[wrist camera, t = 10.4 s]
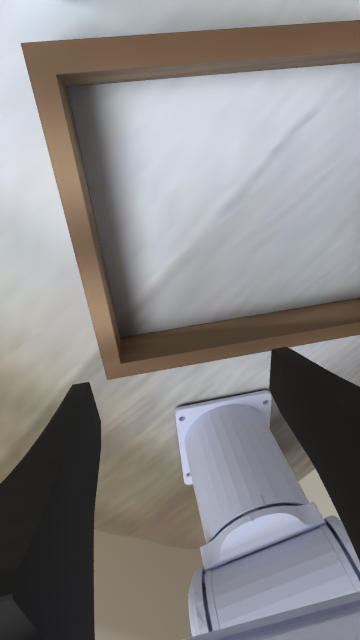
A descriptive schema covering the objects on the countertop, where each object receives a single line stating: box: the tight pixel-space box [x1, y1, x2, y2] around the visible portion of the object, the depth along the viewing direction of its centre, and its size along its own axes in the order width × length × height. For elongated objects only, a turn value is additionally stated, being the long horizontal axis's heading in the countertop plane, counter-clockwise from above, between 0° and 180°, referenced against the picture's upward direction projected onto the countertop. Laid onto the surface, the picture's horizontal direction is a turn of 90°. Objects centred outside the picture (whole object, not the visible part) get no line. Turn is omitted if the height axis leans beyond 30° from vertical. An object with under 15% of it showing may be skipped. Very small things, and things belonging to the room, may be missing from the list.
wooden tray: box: [21, 20, 360, 380], centre depth 18 cm, size 16×20×3 cm
